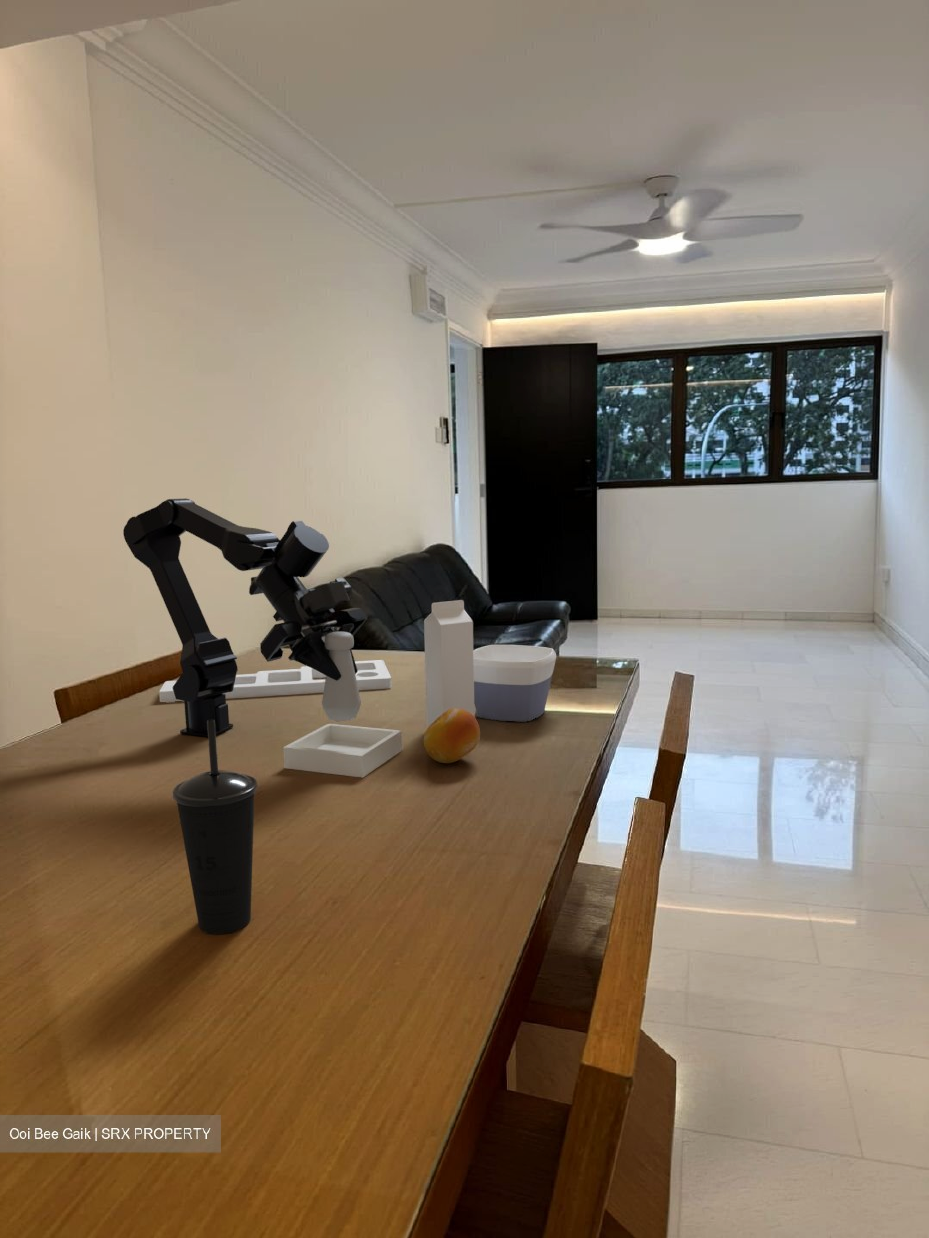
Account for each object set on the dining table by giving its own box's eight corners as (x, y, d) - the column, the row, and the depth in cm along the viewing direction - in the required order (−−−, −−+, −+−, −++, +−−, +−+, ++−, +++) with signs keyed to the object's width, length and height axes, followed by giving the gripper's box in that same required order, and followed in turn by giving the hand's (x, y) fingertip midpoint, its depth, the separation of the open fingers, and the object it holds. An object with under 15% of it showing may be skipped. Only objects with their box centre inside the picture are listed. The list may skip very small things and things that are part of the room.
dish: (284, 768, 127) (283, 747, 127) (329, 742, 139) (328, 723, 139) (362, 777, 123) (361, 755, 122) (402, 750, 135) (401, 730, 134)
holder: (159, 705, 167) (158, 691, 167) (172, 683, 185) (171, 671, 184) (391, 691, 175) (391, 678, 175) (383, 671, 193) (382, 659, 192)
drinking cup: (193, 904, 87) (178, 711, 83) (270, 900, 87) (258, 708, 84) (174, 945, 79) (157, 734, 76) (259, 939, 80) (246, 730, 77)
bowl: (455, 721, 151) (453, 658, 149) (486, 699, 165) (485, 642, 163) (539, 729, 145) (539, 664, 143) (564, 706, 159) (564, 647, 157)
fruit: (412, 760, 130) (411, 709, 128) (458, 749, 135) (457, 699, 134) (446, 775, 123) (444, 721, 122) (492, 762, 128) (491, 710, 127)
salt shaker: (363, 721, 128) (360, 635, 126) (324, 724, 127) (321, 637, 124) (358, 711, 134) (355, 628, 131) (321, 714, 132) (317, 630, 130)
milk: (475, 734, 143) (473, 602, 139) (442, 739, 140) (440, 605, 136) (457, 725, 148) (455, 597, 144) (425, 730, 145) (423, 600, 142)
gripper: (270, 568, 121) (333, 654, 117) (356, 556, 136) (414, 632, 132) (234, 619, 126) (293, 702, 122) (320, 602, 142) (375, 676, 138)
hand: (347, 676), depth 128 cm, fingers closed on salt shaker, 3 cm apart
